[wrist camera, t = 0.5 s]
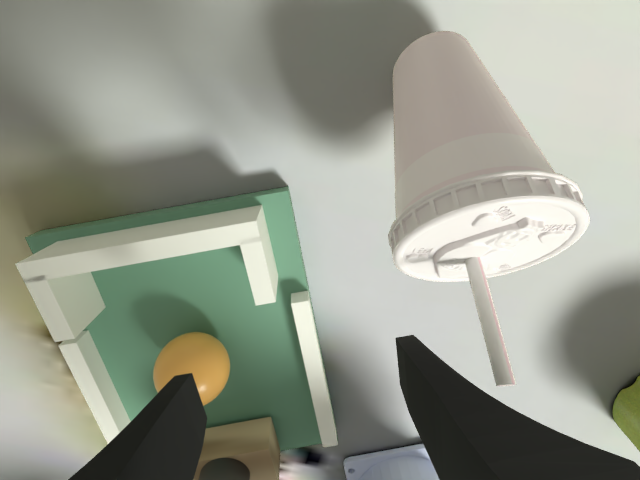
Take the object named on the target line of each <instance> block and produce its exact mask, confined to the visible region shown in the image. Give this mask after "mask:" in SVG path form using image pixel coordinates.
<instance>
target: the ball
mask: <svg viewBox="0 0 640 480" xmlns="http://www.w3.org/2000/svg"><path fill="white" fill-rule="evenodd" d="M188 373H192V374H193V377H194V380H195V383H196V386H197V389H198V392H199V395H200V398H201V401H202V404H203V406H204V405H206V404H208V403H209V402H211V401H212V400H214V399H215V398H216V397H217V396H218V395H219V394H220V393H221V391H222V390H223V388H224V387H225V385H226V383H227V380H228V377H229V373H230V359H229V355H228V353H227V350H226V349H225V347H224V345H223V344H222V343H221V342H220V341H219V340H218V339H216V338H215V337H213V336H211V335H209V334H206V333H202V332H191V333H186V334H183V335H180V336H178V337H176V338H174V339H173V340H171V341H170V342H169V343H168V344H167V345H166V346H165V347H164V348H163V349H162V350H161V352H160V353H159V355H158V357H157V359H156V362H155V365H154V370H153V380H154V385H155V388H156V390H157V392H159V391H160V390H161V389H162V388H163V387H164V386H165V385H166V384H167V383H168V382H169V381H170V380H171V379H172V378H173V377H174V376H177V375H182V374H188Z"/></svg>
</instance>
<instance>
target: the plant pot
mask: <svg viewBox="0 0 640 480" xmlns="http://www.w3.org/2000/svg"><path fill="white" fill-rule="evenodd" d="M613 418H614V421H615V422H616V424H617V425H618V426H619V428H620V429H621V430H622V431H623V432H624V434H625V435H626V436H627V437H628V438H629V439H630V441H631V442H632V443H633V444H634V445H635V446H636V448H637V449H638V450H639V451H640V375H639V376H638V377H637V380H636V382H635V383H634V384H633V385H632V386H630V387H628V388H626V389H622V390H621V391H620V392H619V394H618V395H617V397H616V399H615V401H614V405H613Z"/></svg>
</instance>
